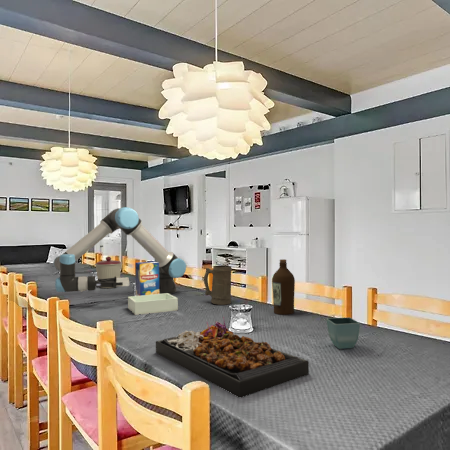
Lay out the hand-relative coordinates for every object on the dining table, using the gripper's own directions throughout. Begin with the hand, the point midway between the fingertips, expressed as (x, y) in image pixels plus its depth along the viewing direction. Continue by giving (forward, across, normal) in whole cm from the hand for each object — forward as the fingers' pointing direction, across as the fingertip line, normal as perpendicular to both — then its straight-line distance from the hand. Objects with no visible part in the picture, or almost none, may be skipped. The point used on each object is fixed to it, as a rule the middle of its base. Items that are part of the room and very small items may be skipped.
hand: (129, 281), depth 220 cm
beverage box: (+10, 0, -12) cm, 16 cm away
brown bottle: (+70, +46, -12) cm, 85 cm away
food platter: (+26, +104, -13) cm, 109 cm away
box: (+11, +18, -12) cm, 24 cm away
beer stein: (+46, +14, -12) cm, 49 cm away
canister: (-12, -66, -12) cm, 68 cm away
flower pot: (+68, +101, -12) cm, 123 cm away
